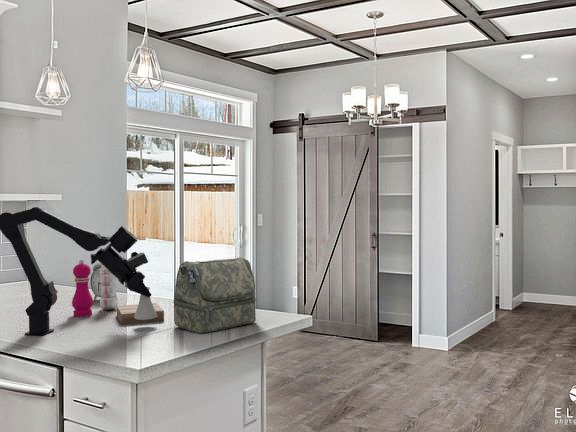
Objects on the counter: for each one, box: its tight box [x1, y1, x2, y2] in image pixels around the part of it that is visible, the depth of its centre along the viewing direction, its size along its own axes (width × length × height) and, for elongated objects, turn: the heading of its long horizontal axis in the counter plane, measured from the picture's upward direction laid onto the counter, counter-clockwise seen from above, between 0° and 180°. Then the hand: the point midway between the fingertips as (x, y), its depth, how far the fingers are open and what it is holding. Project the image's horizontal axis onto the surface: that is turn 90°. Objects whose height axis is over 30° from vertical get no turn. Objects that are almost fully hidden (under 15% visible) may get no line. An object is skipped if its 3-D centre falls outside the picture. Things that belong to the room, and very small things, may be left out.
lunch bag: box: [173, 257, 257, 334], centre depth 200 cm, size 26×18×22 cm
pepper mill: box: [71, 259, 94, 318], centre depth 220 cm, size 7×7×20 cm
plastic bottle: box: [99, 265, 119, 311], centre depth 230 cm, size 6×7×20 cm
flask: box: [134, 286, 158, 320], centre depth 199 cm, size 7×7×10 cm
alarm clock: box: [89, 262, 102, 300], centre depth 253 cm, size 12×7×15 cm, turn 49°
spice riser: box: [116, 302, 165, 325], centre depth 213 cm, size 16×14×4 cm
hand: (149, 295), depth 200 cm, fingers closed on flask, 3 cm apart
